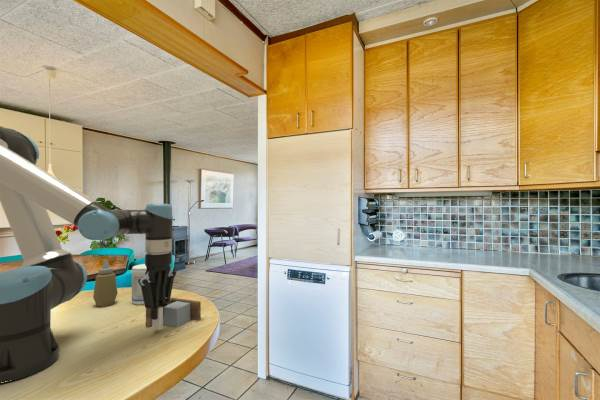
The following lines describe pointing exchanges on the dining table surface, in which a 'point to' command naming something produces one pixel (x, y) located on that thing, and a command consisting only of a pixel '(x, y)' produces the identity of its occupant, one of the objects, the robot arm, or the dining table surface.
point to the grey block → (176, 314)
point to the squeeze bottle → (105, 286)
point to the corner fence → (194, 305)
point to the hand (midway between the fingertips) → (157, 328)
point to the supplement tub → (137, 274)
